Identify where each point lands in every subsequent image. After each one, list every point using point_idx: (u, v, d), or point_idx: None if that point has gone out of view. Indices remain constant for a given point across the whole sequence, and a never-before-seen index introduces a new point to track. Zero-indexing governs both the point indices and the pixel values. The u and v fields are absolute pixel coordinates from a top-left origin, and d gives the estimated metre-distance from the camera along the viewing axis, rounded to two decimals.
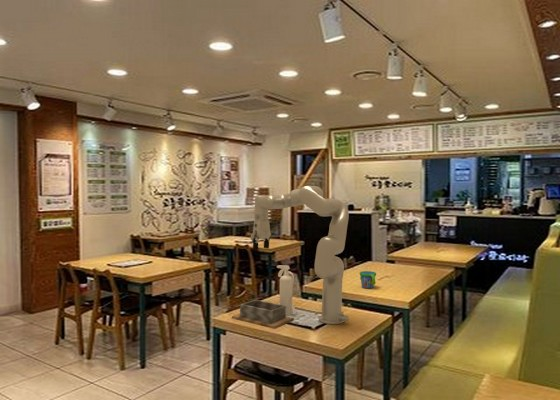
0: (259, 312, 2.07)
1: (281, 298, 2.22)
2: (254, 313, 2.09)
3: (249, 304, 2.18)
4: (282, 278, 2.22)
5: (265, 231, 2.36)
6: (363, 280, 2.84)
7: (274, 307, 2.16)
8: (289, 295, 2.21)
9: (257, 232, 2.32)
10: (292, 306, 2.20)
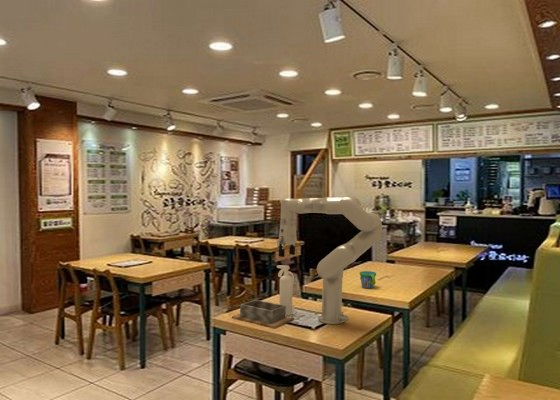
0: (259, 312, 2.07)
1: (281, 298, 2.22)
2: (254, 313, 2.09)
3: (249, 304, 2.18)
4: (282, 278, 2.22)
5: (292, 237, 2.21)
6: (363, 280, 2.84)
7: (274, 307, 2.16)
8: (289, 295, 2.21)
9: (283, 238, 2.18)
10: (292, 306, 2.20)
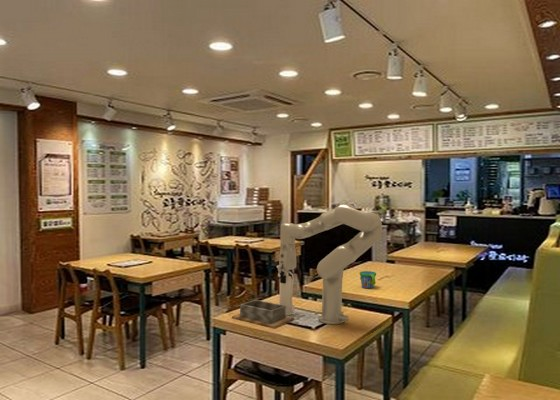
0: (259, 312, 2.07)
1: (281, 299, 2.22)
2: (254, 313, 2.09)
3: (249, 304, 2.18)
4: None
5: (292, 261, 2.21)
6: (363, 280, 2.84)
7: (274, 307, 2.16)
8: (289, 295, 2.21)
9: (283, 265, 2.18)
10: (292, 306, 2.20)
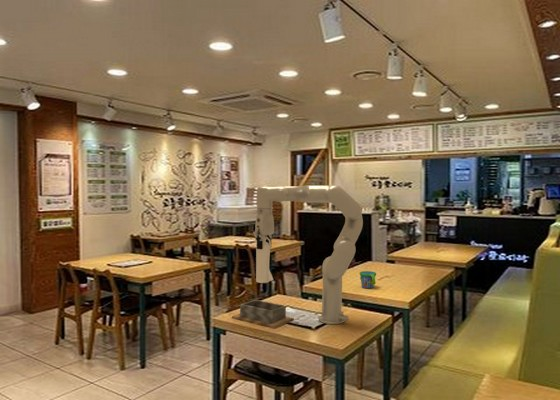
0: (259, 312, 2.07)
1: (257, 265, 2.11)
2: (254, 313, 2.09)
3: (249, 304, 2.18)
4: None
5: (269, 226, 2.11)
6: (363, 280, 2.84)
7: (274, 307, 2.16)
8: (266, 262, 2.11)
9: (260, 229, 2.07)
10: (269, 273, 2.10)
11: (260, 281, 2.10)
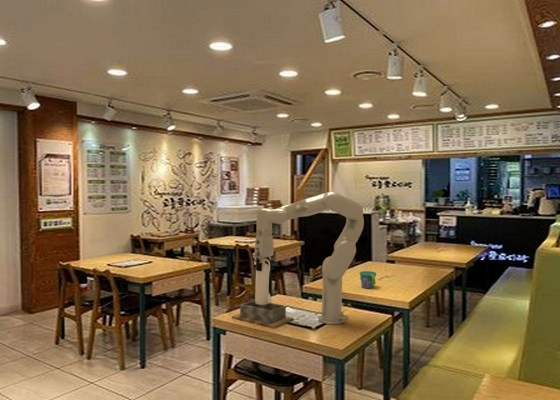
0: (259, 312, 2.07)
1: (257, 287, 2.11)
2: (254, 313, 2.09)
3: (249, 304, 2.18)
4: None
5: (268, 248, 2.11)
6: (363, 280, 2.84)
7: (274, 307, 2.16)
8: (265, 283, 2.11)
9: (259, 251, 2.08)
10: (268, 295, 2.10)
11: (259, 303, 2.11)
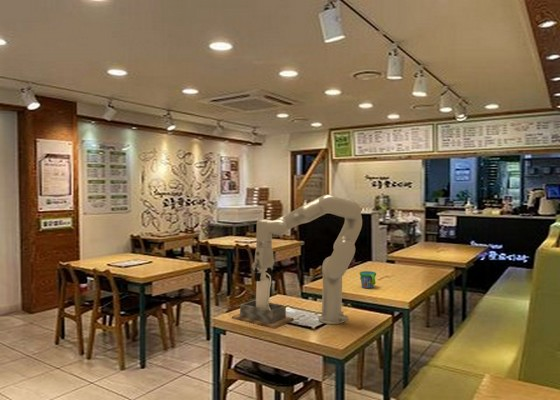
0: (259, 312, 2.07)
1: (257, 301, 2.11)
2: (254, 313, 2.09)
3: (249, 304, 2.18)
4: None
5: (268, 259, 2.11)
6: (363, 280, 2.84)
7: (274, 307, 2.16)
8: (266, 298, 2.11)
9: (259, 261, 2.08)
10: (269, 309, 2.10)
11: None
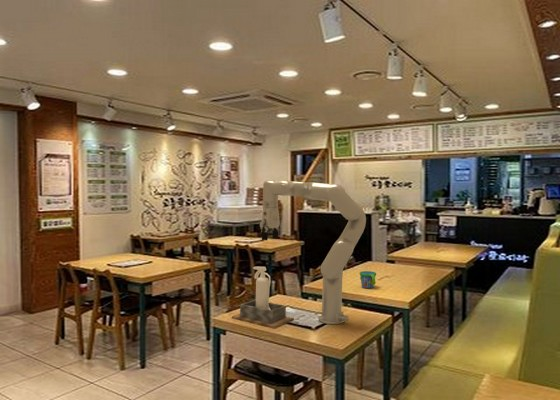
0: (259, 312, 2.07)
1: (257, 301, 2.11)
2: (254, 313, 2.09)
3: (249, 304, 2.18)
4: (258, 280, 2.11)
5: (275, 220, 2.18)
6: (363, 280, 2.84)
7: (274, 307, 2.16)
8: (265, 298, 2.11)
9: (266, 221, 2.14)
10: (268, 309, 2.10)
11: None
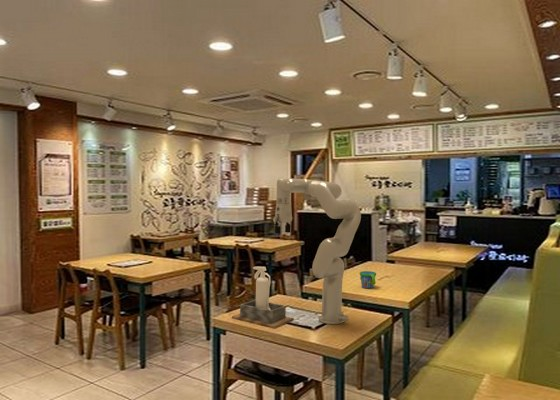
0: (259, 312, 2.07)
1: (257, 301, 2.11)
2: (254, 313, 2.09)
3: (249, 304, 2.18)
4: (258, 280, 2.11)
5: (287, 215, 2.35)
6: (363, 280, 2.84)
7: (274, 307, 2.16)
8: (265, 298, 2.11)
9: (279, 216, 2.31)
10: (268, 309, 2.10)
11: None
